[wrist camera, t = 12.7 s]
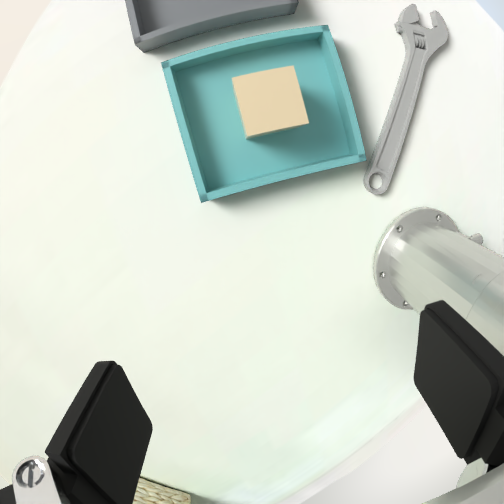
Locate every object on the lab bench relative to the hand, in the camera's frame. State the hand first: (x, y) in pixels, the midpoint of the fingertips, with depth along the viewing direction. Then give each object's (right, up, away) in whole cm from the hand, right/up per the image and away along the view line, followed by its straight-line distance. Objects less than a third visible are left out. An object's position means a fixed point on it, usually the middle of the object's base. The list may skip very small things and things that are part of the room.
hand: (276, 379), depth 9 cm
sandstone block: (+1, +17, +19) cm, 26 cm away
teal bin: (0, +18, +20) cm, 27 cm away
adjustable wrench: (+15, +22, +20) cm, 33 cm away
